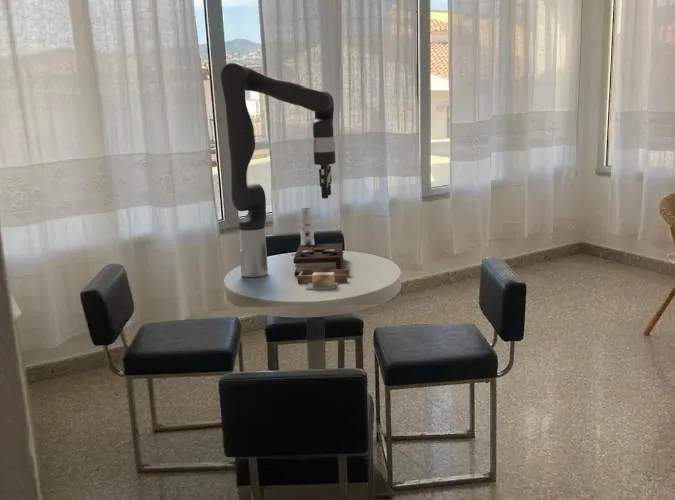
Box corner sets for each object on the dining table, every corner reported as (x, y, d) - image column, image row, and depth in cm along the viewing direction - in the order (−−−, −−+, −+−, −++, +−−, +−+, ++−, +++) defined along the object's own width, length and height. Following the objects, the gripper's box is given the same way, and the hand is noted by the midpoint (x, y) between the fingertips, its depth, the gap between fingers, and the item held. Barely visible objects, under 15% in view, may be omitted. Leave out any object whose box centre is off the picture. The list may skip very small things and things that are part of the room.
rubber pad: (305, 289, 236) (305, 288, 236) (309, 283, 244) (309, 282, 243) (335, 289, 235) (335, 287, 235) (338, 283, 242) (338, 281, 242)
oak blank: (312, 286, 237) (312, 275, 237) (314, 283, 241) (313, 272, 240) (333, 286, 237) (332, 274, 236) (334, 283, 240) (334, 272, 240)
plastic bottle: (318, 256, 287) (315, 207, 283) (314, 260, 280) (311, 209, 276) (303, 256, 288) (300, 207, 284) (298, 260, 282) (295, 210, 278)
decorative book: (345, 239, 280) (343, 256, 251) (346, 258, 282) (344, 276, 253) (296, 241, 281) (289, 258, 252) (298, 260, 283) (290, 279, 253)
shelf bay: (298, 283, 245) (297, 276, 244) (301, 276, 254) (301, 270, 253) (347, 282, 243) (346, 275, 243) (349, 275, 252) (349, 268, 251)
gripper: (332, 151, 239) (334, 199, 242) (337, 148, 253) (339, 193, 256) (310, 152, 240) (313, 200, 243) (316, 149, 254) (318, 194, 257)
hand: (326, 196), depth 250 cm, fingers open, 8 cm apart
